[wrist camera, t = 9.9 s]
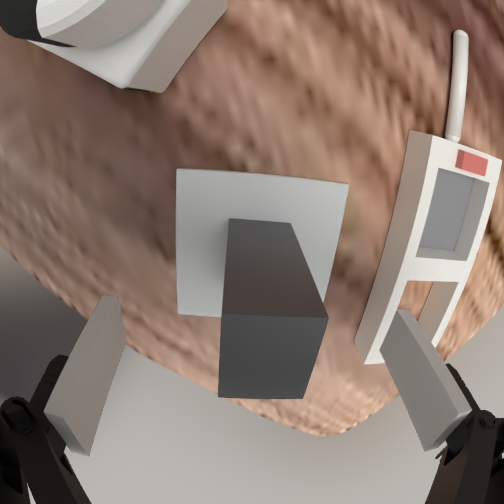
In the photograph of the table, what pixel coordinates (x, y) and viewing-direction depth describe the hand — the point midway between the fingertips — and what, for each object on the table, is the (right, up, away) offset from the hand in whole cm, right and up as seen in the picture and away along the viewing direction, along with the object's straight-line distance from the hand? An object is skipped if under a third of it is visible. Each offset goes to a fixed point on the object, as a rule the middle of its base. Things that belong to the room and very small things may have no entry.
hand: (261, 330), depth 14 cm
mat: (0, +4, +8) cm, 9 cm away
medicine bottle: (-7, +18, +1) cm, 19 cm away
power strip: (+13, +8, +6) cm, 17 cm away
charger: (0, +3, +7) cm, 8 cm away
